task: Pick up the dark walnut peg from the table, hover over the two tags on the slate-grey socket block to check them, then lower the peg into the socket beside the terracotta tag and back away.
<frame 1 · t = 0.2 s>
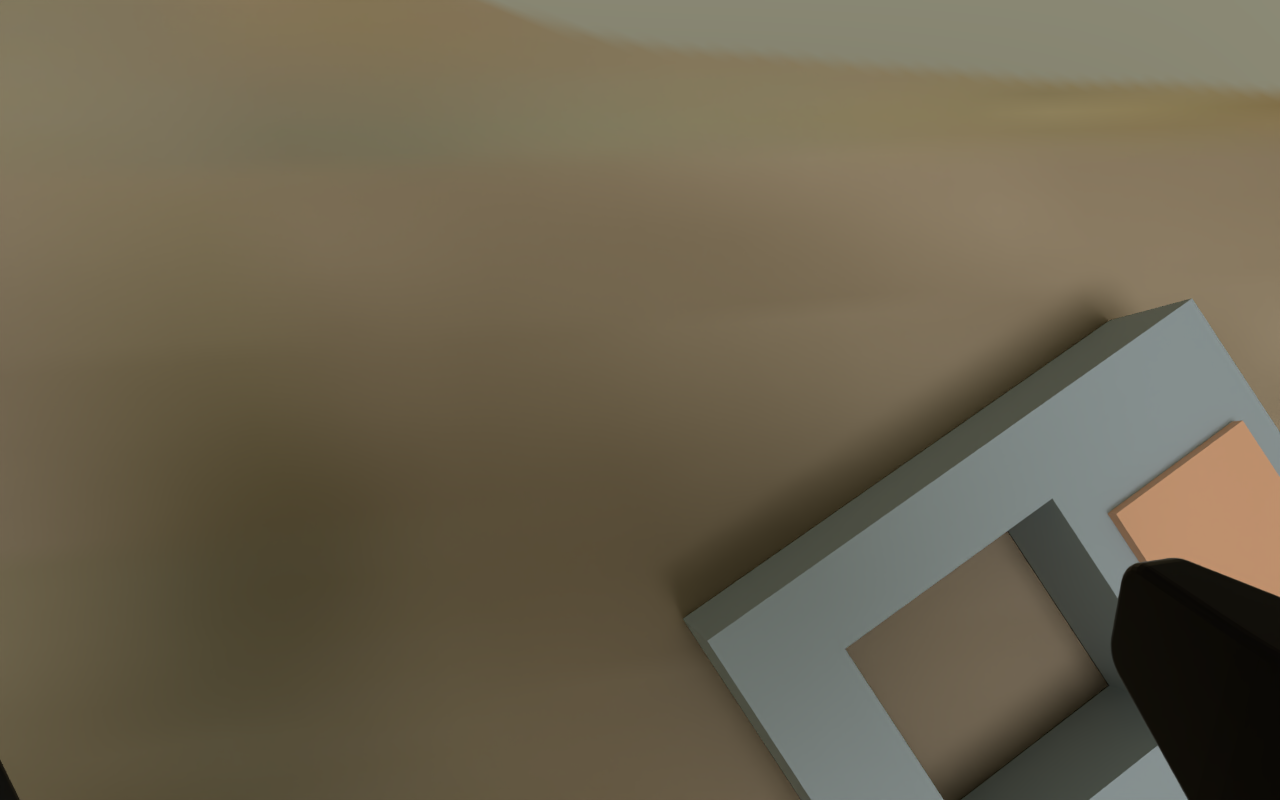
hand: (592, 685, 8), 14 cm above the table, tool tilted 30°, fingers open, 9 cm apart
socket block: (1109, 776, 23), on the table
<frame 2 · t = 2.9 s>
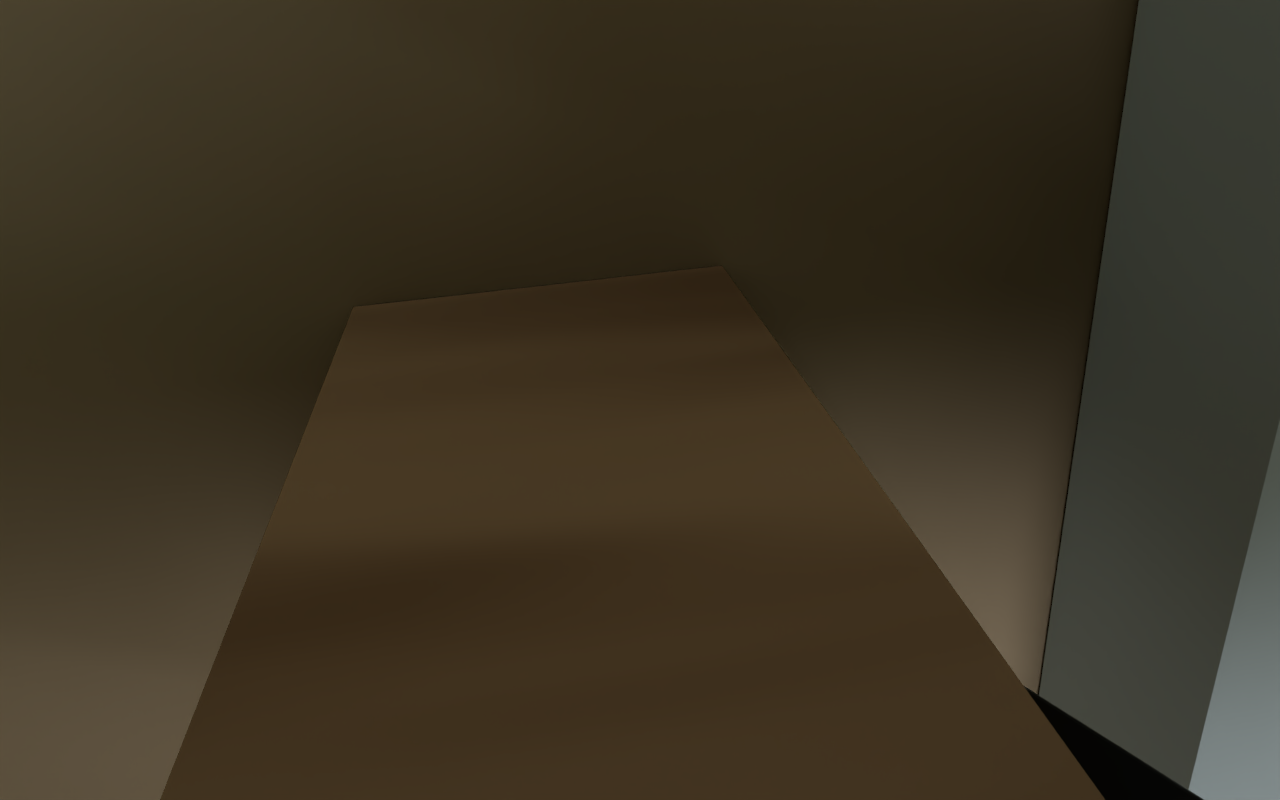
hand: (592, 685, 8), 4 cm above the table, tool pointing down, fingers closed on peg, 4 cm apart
peg: (560, 447, 11), on the table, touching gripper
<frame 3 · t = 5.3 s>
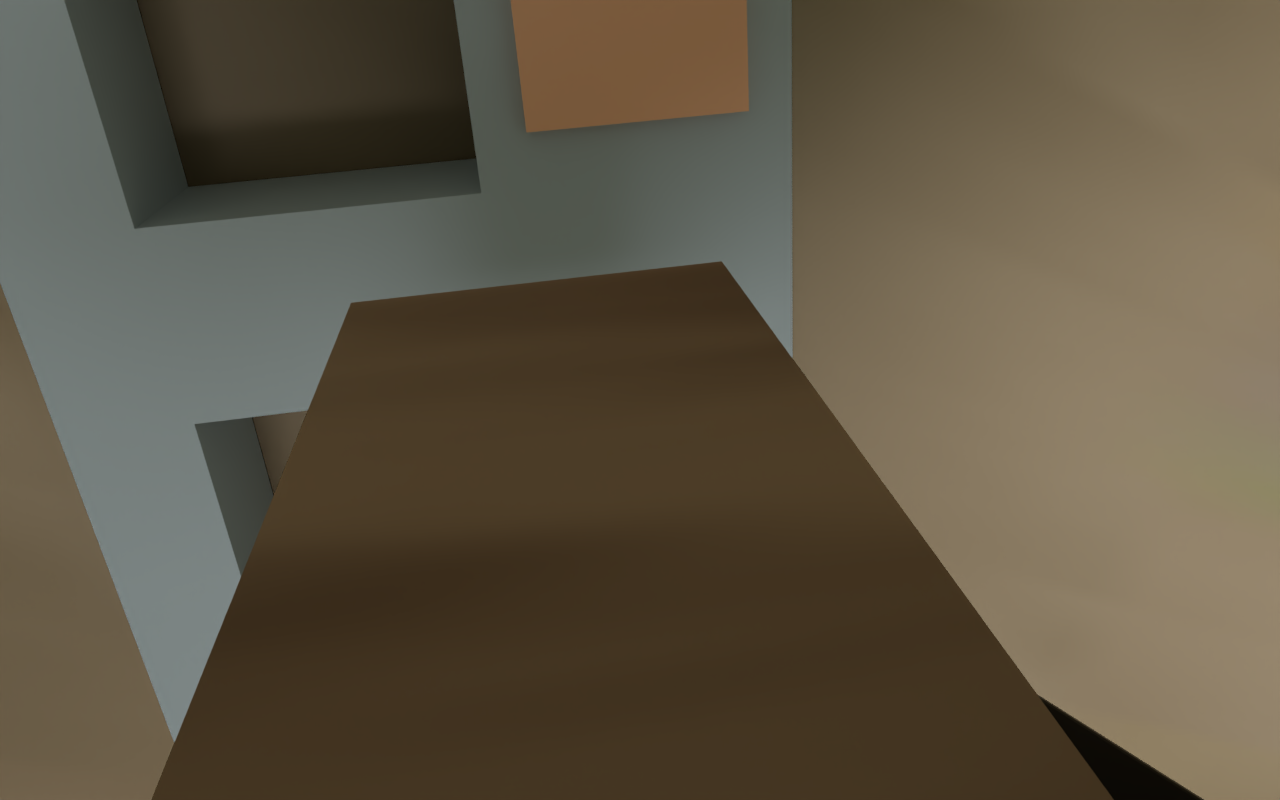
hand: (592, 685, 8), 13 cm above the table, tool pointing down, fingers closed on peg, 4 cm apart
peg: (559, 444, 11), point 9 cm above the table, touching gripper
socket block: (432, 252, 19), on the table
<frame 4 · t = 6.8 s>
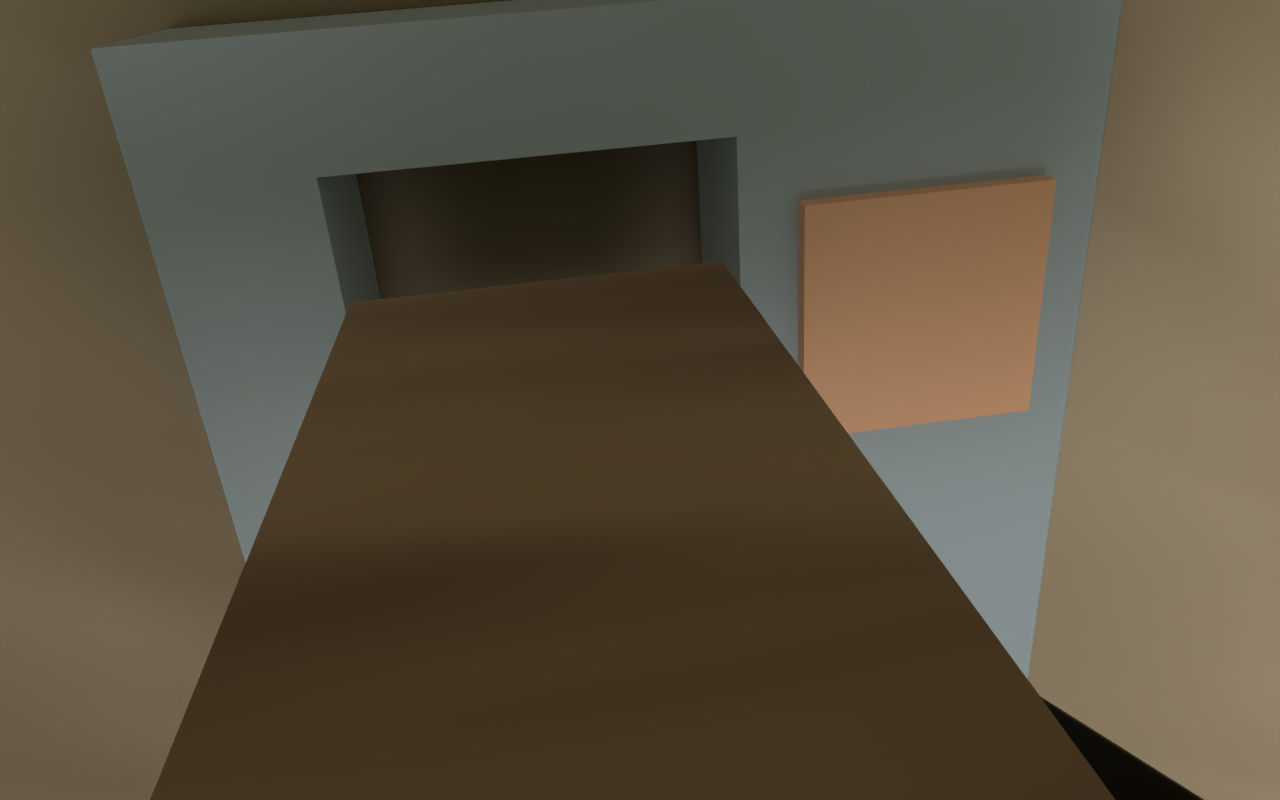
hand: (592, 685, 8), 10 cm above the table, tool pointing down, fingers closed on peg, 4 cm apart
peg: (559, 444, 11), point 6 cm above the table, touching gripper
socket block: (647, 496, 19), on the table
when the fingers open (5 cm above the table, at t = 8.0 s): peg drops 1 cm, resting in socket block.
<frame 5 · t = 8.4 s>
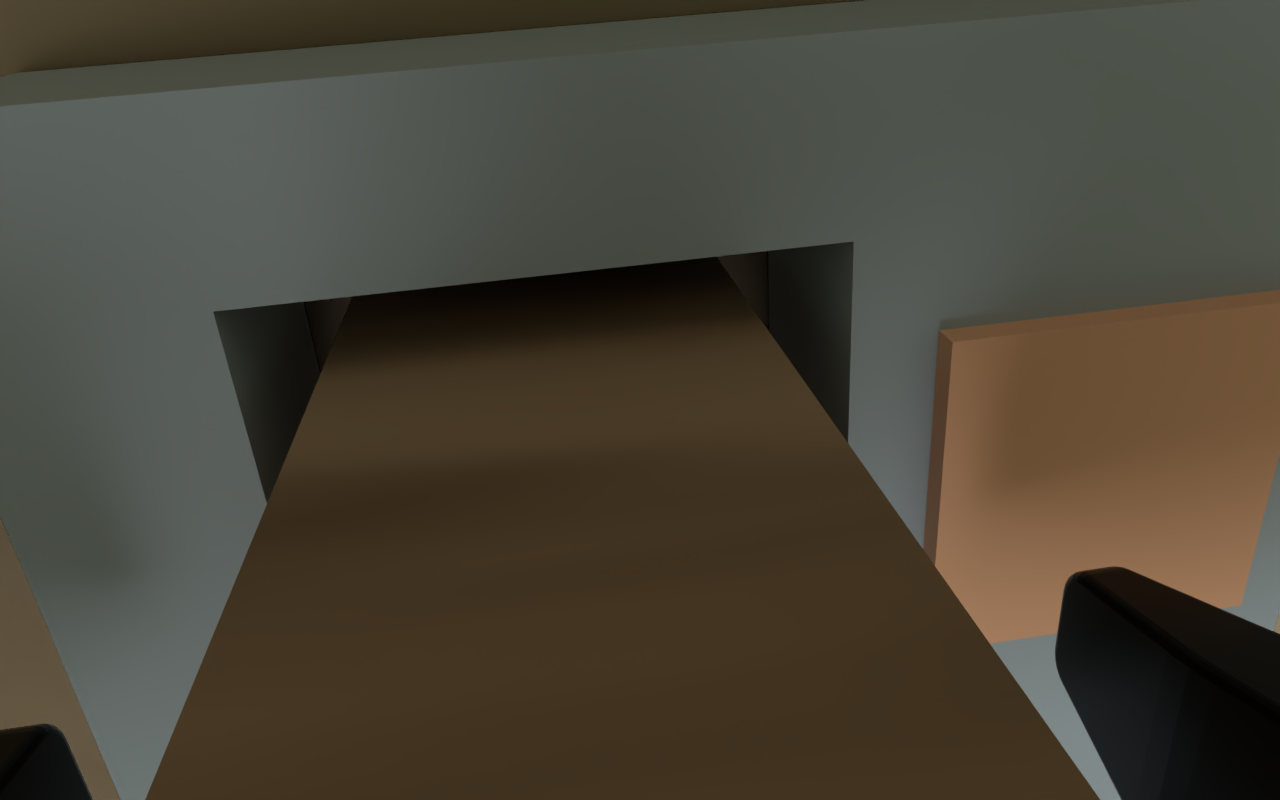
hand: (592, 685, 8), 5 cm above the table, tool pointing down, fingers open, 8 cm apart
peg: (553, 407, 12), resting in socket block
socket block: (690, 669, 14), on the table
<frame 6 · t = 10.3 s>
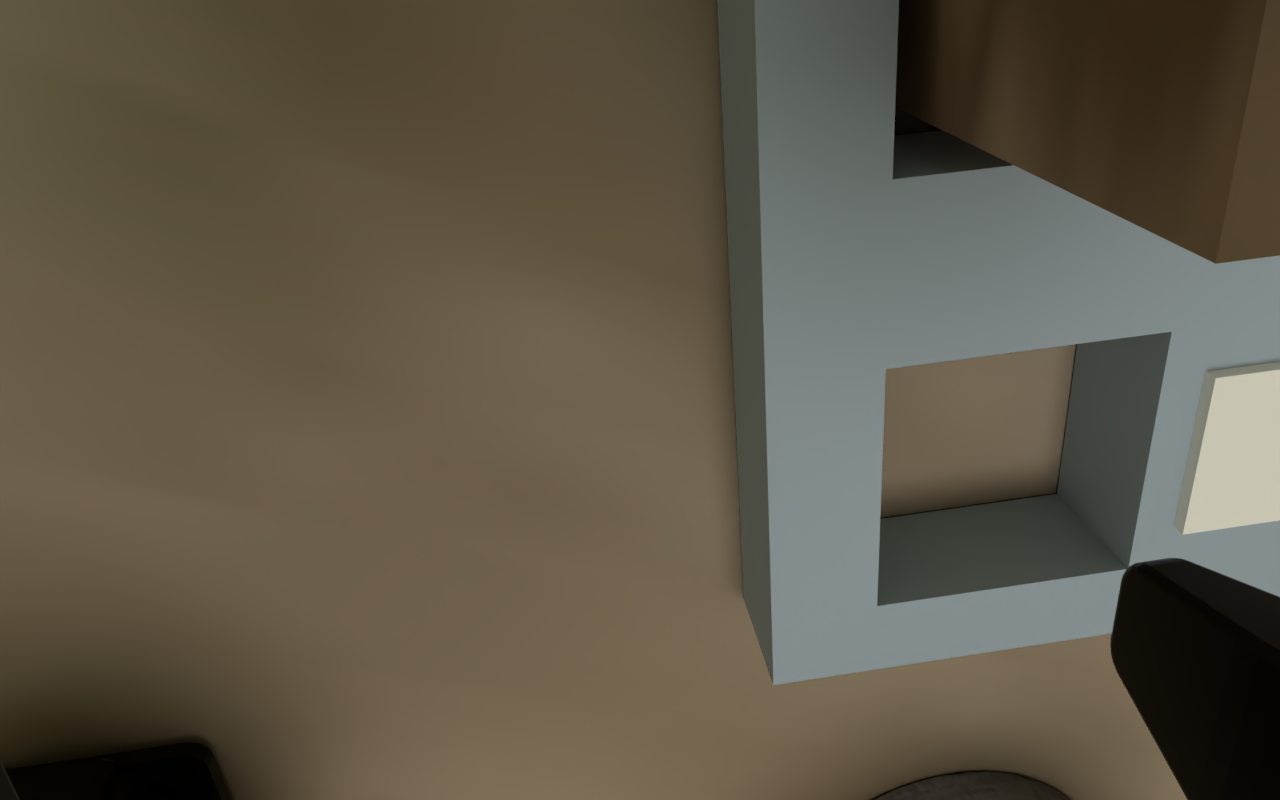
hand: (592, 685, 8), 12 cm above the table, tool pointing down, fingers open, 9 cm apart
socket block: (1038, 205, 20), on the table
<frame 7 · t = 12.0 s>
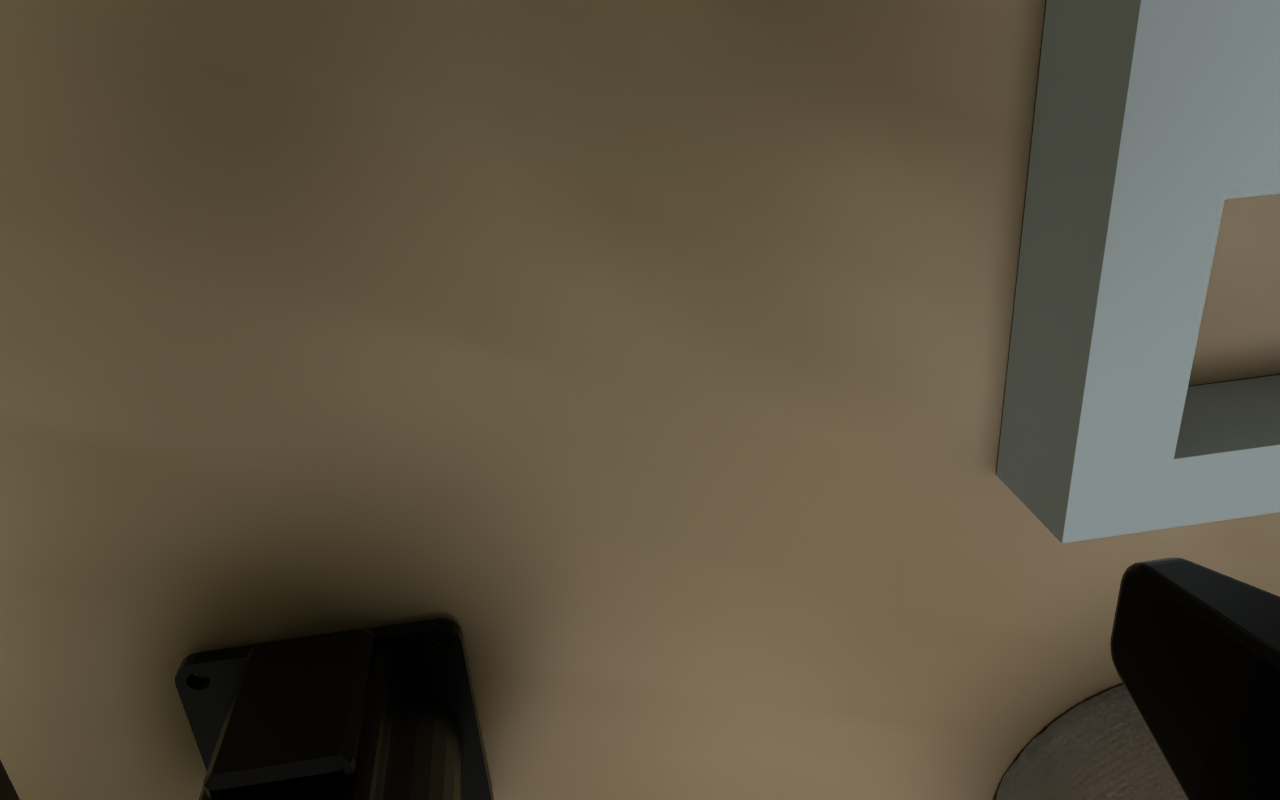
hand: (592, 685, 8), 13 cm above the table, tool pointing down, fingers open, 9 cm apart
pillar candle: (1128, 787, 29), on the table
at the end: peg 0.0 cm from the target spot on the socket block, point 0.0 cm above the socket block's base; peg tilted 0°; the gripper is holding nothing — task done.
